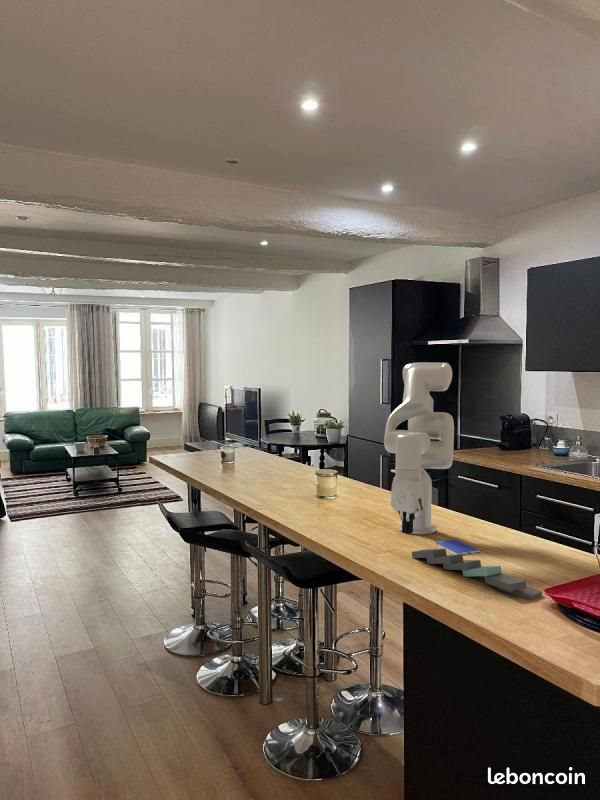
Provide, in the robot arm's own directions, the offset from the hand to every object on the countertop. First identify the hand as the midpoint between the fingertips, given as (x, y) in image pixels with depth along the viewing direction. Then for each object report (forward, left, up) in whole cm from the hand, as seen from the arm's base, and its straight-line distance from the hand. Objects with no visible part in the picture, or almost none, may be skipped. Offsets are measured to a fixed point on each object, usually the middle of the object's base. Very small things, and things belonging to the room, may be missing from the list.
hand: (407, 532), depth 187 cm
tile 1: (+3, +4, -5) cm, 7 cm away
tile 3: (+9, +15, -5) cm, 18 cm away
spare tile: (+12, +22, -5) cm, 25 cm away
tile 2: (+6, +10, -5) cm, 13 cm away
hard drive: (-11, +13, -7) cm, 18 cm away
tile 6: (+17, +31, -6) cm, 36 cm away
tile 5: (+17, +29, -4) cm, 33 cm away
